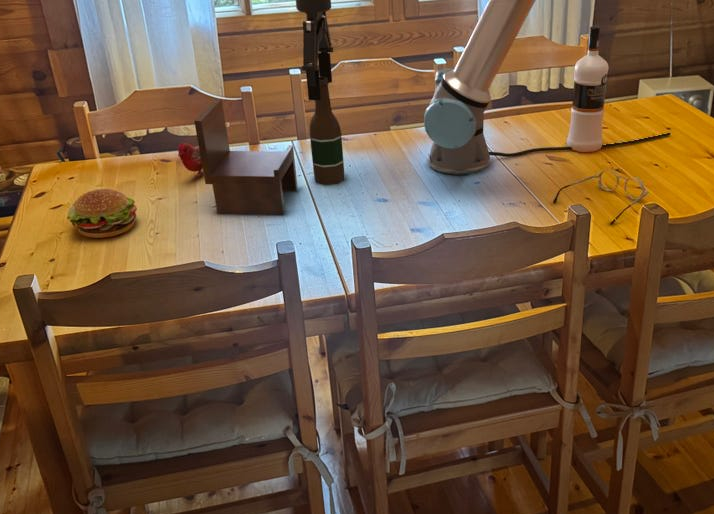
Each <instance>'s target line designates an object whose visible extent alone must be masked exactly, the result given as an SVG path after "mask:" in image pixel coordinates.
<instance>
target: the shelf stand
mask: <svg viewBox="0 0 714 514" xmlns="http://www.w3.org/2000/svg"><path fill="white" fill-rule="evenodd" d="M193 122H194V128H195V133H196V139H197V144H198V145H197V146H199V150H200V156H201V162H202V167H203V168H202V171H203V172H202V174H203V178H204V184H205V185H212V190H213V196H214V201H215V202H214V203H215V207H216V213H217V215H256V216H257V215H262V216H263V215H265V216H284V215H285V213H286V208H285V200H284V194H283V193H284V192H285V191H287V192H297V191H298V190H299V188H298V179H297V169H296V162H295V151H294V145H288V146H287V148H286V149H285V150H284V151H269V150H268V151H266V150H265V151H262V150H261V151H259V150H256V151H255V150H231V149H230V144H229V137H228V130H227V123H226V117H225V111H224V105H223V99H222V98H215V99H214V100H213V101H212V102H211V103H210V104H209V105H208V106H207V107H206V108H205V109H204V110H203V111H202V112H201V113H200V114H199V115H198V116H197V118H196V119H194V121H193ZM283 191H284V192H283Z"/></svg>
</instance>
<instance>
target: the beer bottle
mask: <svg viewBox="0 0 714 514" xmlns="http://www.w3.org/2000/svg"><path fill="white" fill-rule="evenodd" d="M329 84H330V83H329V82H328V79H327V78H326V77H320V88H321V100H314V106H315V107H314V113H313V115H312V117H311V118H310V123H309V140H310V150H311V151H310V152H311V161H312V171H313V175H314V177H313V178H314V181H315V183H316V184H321V185H323V186H324V185H325V186H327V185H337V184H339V183H340V182H341V183H342V182H343V181H344V180H345V164H344V163H345V162H344V151H343V149H344V148H343V138H342V131H341V130H342V129H341V126H340V122H339V120H338V118H337V117H336V115H335V114H334V112H333V110H332V105H331V98H330V97H331V96H330V90H329Z"/></svg>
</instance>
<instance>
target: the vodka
mask: <svg viewBox="0 0 714 514" xmlns="http://www.w3.org/2000/svg"><path fill="white" fill-rule="evenodd" d="M600 36H601V27H600V26H598V25H591V26H590V27H589V32H588V43H587V44H588V45H587V52H586V53H587V54H585V55H584V56H582V57H581V58H580V59H578V60H577V61H576V62H575V66H574V68H573V71H574V72H573V73H574V75H573V76H574V77H573V91H572V92H573V93H572V103H571V108H570V112H571V113H570V124H569V128H568V129H569V130H568V134H567V136H566V145H567V146H566V147H571V148H572V150H571V151H574V152H578V153H595V152H596V151H599V150H600V149H602V148H601V147H602V145H603V144H604V138H603V124H604V123H603V122H604V113H605V103H606V101H605V100H606V93H607V92H606V91H607V84H608V83H607V82H608V73H609V72H608V71H609V69H610V67H609V63H608V61H606V60H605V59H604V58H603V57H602V56H601V55H599V49H600V48H599V47H600Z"/></svg>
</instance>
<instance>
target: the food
mask: <svg viewBox="0 0 714 514" xmlns="http://www.w3.org/2000/svg"><path fill="white" fill-rule="evenodd" d="M135 203H136V202H135V200H134V199H132V198H130V197H128V196H127V195H126V194H125V193H123V192H122V191H119V190H116V189H111V188H98V189H94V190H90V191H88V192H85V193H83V194H82V195H80V196H78V197H77V198H76V200H75V201H74V203H73V204H72V205H71V206H70V207H69V210H68V212H67V217H66V219H67V220H69V222H70V223H71V225H72V226H73V227H75V226H76V225H77V232H78V233H79V234H80V235H82V236H84V237H86V238H94V239H101V238H111V237H114V236H118V235H121V234H123V233H125V232H128V231H129V230H130V229H131V228H133V227H134V226H135V221H136V218H137V213H136V212H137V210H138V206H137V205H136V204H135Z"/></svg>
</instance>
